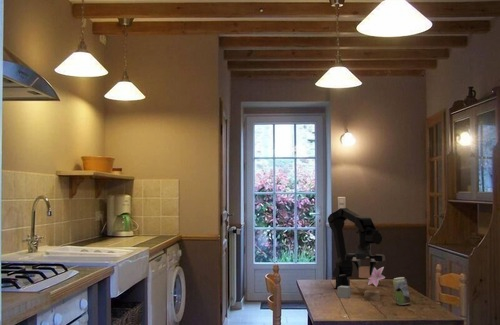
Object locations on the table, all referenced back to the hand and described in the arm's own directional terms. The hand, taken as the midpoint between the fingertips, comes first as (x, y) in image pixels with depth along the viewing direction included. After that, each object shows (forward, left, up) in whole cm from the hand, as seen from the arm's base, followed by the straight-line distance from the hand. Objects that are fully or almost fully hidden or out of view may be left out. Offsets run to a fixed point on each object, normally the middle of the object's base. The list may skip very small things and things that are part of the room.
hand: (365, 275), depth 276 cm
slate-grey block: (-7, -11, -10) cm, 16 cm away
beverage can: (+22, -18, -10) cm, 30 cm away
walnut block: (+7, -12, -10) cm, 17 cm away
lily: (-4, +31, -10) cm, 33 cm away
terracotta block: (0, 0, -1) cm, 1 cm away
